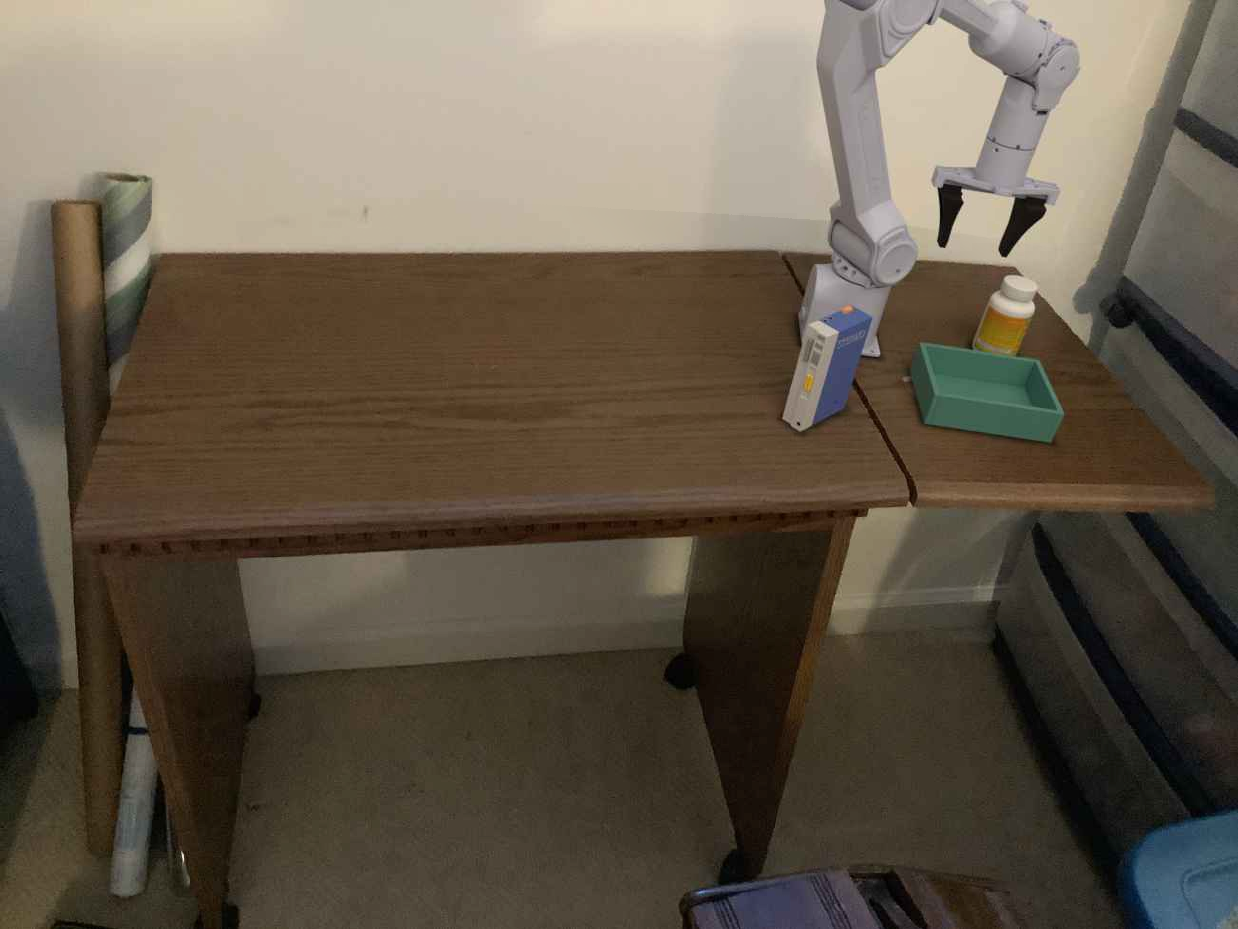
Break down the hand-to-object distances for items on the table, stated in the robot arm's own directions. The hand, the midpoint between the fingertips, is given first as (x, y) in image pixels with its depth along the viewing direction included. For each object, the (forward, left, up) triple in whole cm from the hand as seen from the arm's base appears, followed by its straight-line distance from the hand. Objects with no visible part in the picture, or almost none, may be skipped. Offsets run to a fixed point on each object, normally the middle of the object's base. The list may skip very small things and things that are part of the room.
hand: (971, 249), depth 124 cm
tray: (+1, -19, -10) cm, 22 cm away
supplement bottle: (+5, -6, -11) cm, 13 cm away
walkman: (-19, -26, -11) cm, 34 cm away
